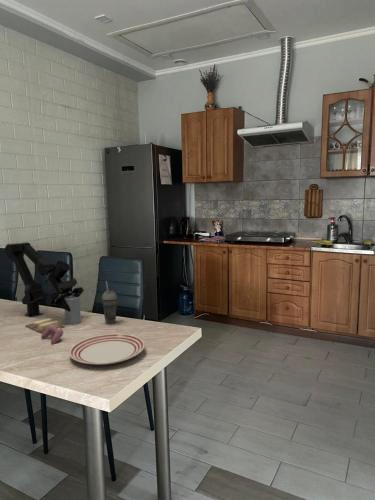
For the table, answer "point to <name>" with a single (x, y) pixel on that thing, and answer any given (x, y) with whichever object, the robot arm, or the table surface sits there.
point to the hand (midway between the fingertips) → (74, 309)
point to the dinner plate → (107, 349)
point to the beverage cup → (109, 305)
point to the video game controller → (53, 333)
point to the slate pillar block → (73, 311)
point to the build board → (43, 325)
